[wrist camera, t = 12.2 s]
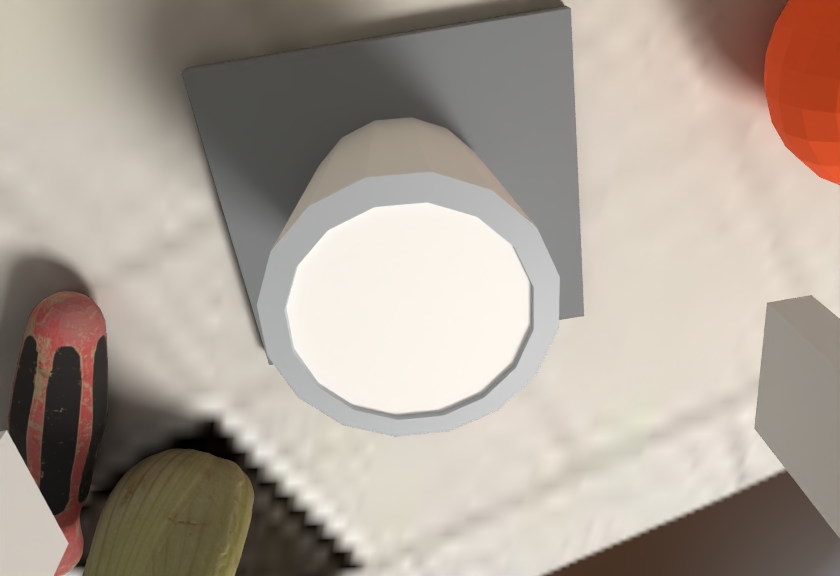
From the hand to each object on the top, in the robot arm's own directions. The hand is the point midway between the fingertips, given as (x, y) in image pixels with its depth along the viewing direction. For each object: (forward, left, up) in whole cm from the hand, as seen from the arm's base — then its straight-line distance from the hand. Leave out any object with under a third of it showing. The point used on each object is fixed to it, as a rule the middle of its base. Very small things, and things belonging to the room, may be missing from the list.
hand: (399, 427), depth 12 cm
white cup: (0, 0, -11) cm, 11 cm away
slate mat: (0, 0, -11) cm, 11 cm away
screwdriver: (-16, -12, -12) cm, 23 cm away
